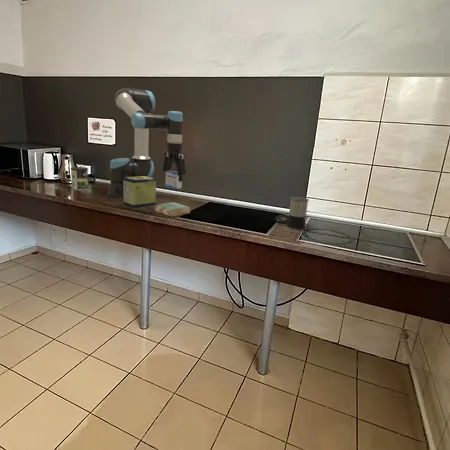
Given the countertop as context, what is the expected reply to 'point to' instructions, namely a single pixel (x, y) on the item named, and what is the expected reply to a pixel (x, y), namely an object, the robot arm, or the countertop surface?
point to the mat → (172, 206)
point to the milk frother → (295, 213)
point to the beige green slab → (172, 211)
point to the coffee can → (79, 178)
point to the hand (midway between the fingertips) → (173, 186)
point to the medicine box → (171, 179)
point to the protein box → (139, 191)
